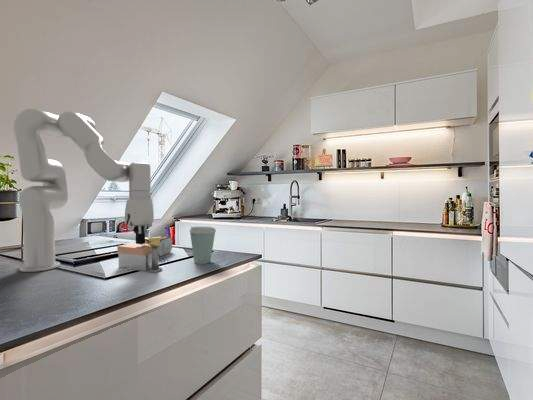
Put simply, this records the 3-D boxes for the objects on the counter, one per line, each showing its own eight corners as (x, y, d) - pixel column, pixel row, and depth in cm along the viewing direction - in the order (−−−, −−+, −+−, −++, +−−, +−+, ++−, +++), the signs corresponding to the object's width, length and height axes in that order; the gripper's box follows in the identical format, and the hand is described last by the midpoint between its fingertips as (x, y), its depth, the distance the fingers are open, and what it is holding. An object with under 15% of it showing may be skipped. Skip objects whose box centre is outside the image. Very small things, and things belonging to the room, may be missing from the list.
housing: (118, 267, 118) (117, 243, 118) (128, 264, 123) (128, 241, 122) (155, 272, 111) (155, 247, 110) (165, 269, 115) (164, 245, 115)
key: (138, 243, 118) (138, 235, 118) (149, 241, 121) (149, 234, 121) (151, 247, 110) (151, 238, 110) (162, 245, 114) (162, 237, 114)
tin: (167, 251, 148) (167, 234, 148) (173, 251, 148) (173, 234, 147) (151, 258, 133) (151, 239, 133) (158, 259, 133) (158, 239, 132)
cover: (117, 252, 117) (117, 246, 117) (130, 249, 123) (130, 243, 123) (142, 255, 112) (142, 248, 112) (154, 252, 117) (154, 245, 117)
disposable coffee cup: (197, 258, 133) (197, 224, 133) (220, 260, 130) (220, 225, 130) (184, 264, 123) (184, 227, 122) (209, 266, 120) (208, 228, 120)
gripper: (148, 194, 124) (148, 239, 124) (115, 195, 110) (116, 246, 111) (162, 195, 120) (162, 241, 121) (130, 195, 107) (130, 248, 108)
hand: (140, 243), depth 116 cm, fingers closed
